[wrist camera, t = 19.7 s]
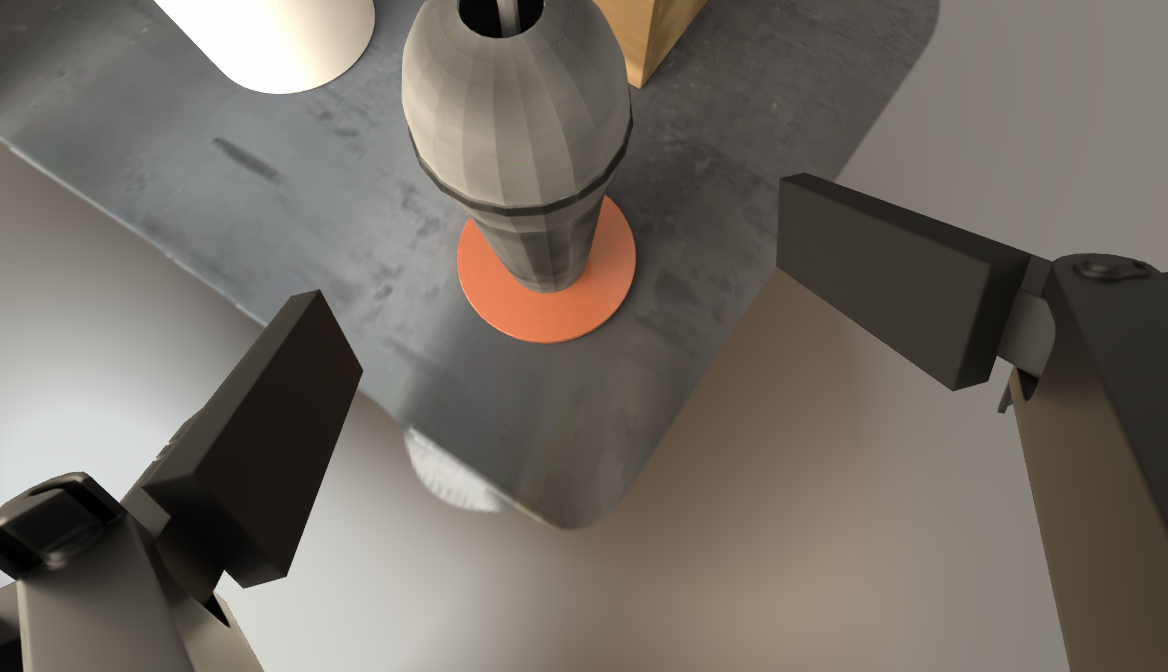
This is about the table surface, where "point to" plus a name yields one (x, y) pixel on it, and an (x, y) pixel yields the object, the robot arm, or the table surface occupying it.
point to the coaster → (551, 312)
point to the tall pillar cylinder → (277, 38)
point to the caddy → (647, 30)
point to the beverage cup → (520, 123)
